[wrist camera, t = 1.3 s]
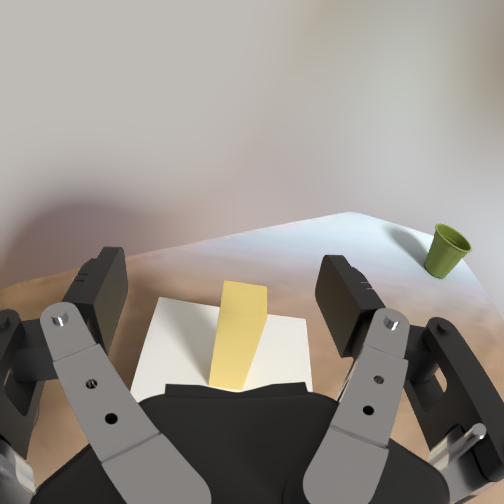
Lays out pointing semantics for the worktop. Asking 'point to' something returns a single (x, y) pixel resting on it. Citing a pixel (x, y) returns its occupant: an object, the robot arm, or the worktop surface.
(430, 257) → the plant pot
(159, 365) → the lid
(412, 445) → the worktop surface
